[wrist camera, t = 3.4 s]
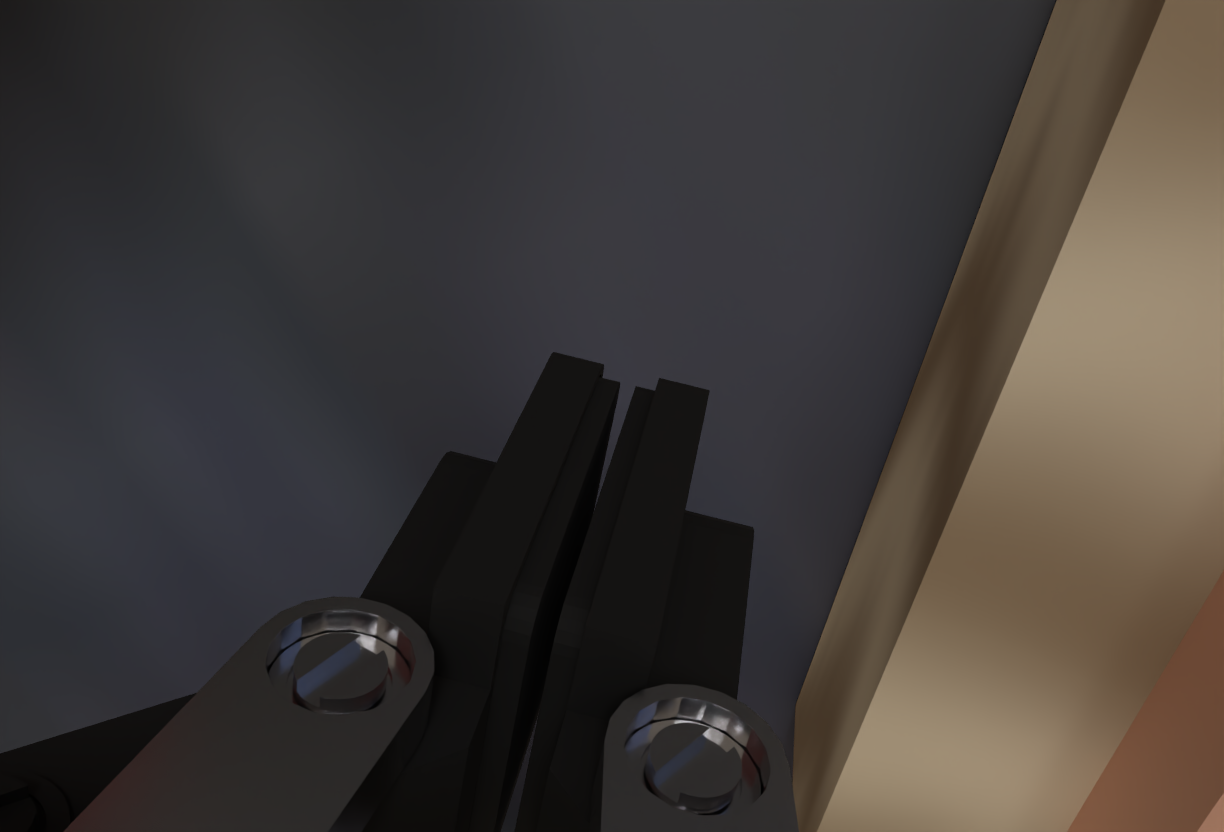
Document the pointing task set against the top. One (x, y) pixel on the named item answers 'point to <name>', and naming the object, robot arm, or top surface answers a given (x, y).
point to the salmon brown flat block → (1171, 744)
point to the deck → (1044, 456)
